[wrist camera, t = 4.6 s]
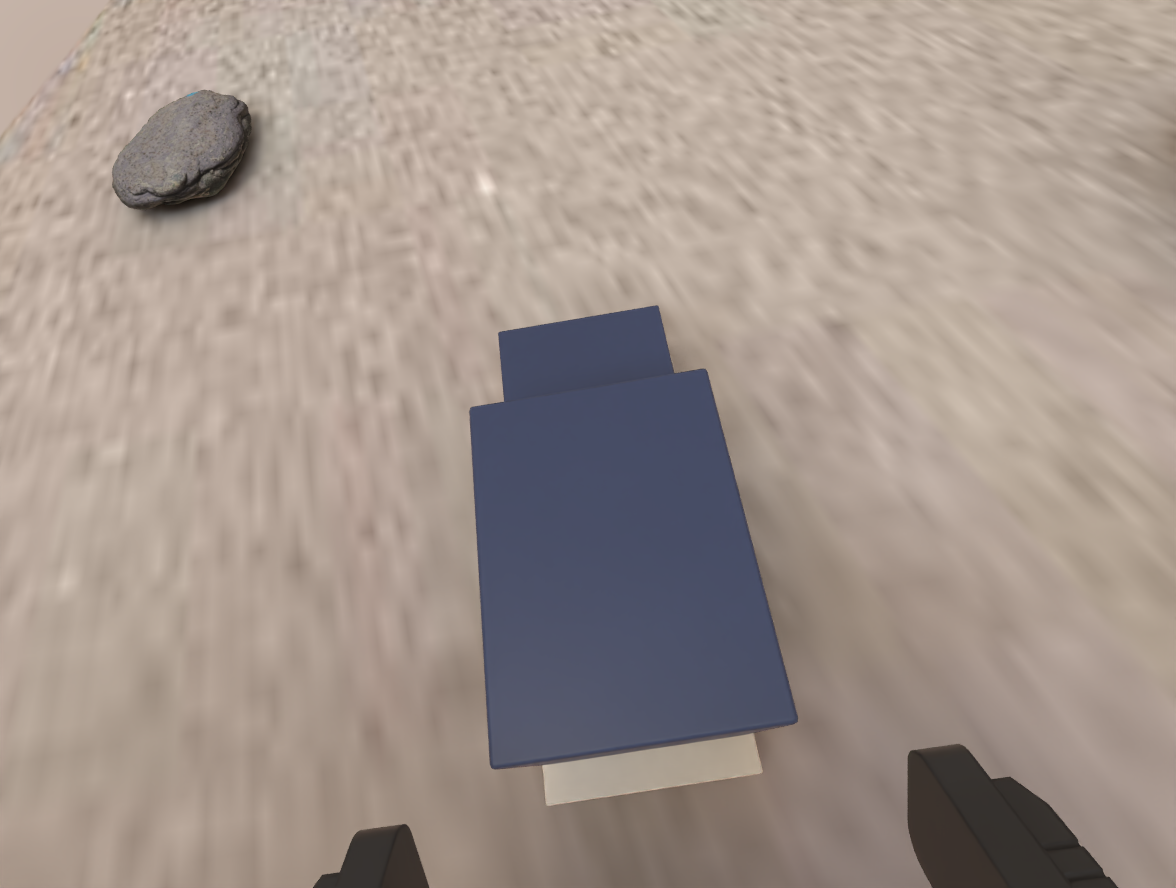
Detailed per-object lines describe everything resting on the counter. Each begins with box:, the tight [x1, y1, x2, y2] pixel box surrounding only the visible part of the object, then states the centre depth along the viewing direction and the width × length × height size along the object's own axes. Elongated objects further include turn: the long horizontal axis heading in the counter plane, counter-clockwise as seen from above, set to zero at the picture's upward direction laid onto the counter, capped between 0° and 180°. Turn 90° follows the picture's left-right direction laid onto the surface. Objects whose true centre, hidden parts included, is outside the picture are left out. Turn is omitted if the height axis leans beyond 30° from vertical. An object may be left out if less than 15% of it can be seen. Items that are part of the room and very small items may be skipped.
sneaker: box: [469, 305, 798, 806], centre depth 18 cm, size 14×6×9 cm, turn 8°
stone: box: [112, 90, 251, 209], centre depth 32 cm, size 7×8×2 cm
